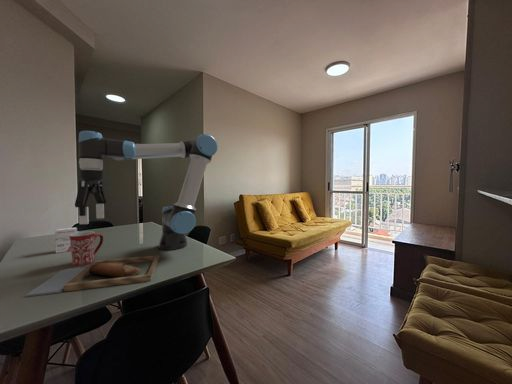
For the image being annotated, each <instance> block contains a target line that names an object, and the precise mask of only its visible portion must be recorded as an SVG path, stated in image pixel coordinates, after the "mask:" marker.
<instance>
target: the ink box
mask: <svg viewBox="0 0 512 384" xmlns="http://www.w3.org/2000/svg"><path fill="white" fill-rule="evenodd" d="M73 233H78V228H77V227H67V228H59V229H55V231H54V238H55V245H54V246H55V253H56V254H57V253H66V252H71V243H70V237H69V235H70V234H73Z"/></svg>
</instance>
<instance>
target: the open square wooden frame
mask: <svg viewBox="0 0 512 384" xmlns="http://www.w3.org/2000/svg"><path fill="white" fill-rule="evenodd" d="M159 261H160V255H159V254H157V255H148V256H145V255H144V256H136V257H135V256H134V257H124V258H114V259H102V260H94V261H93V262H91V263H89V265H88V266H85V267H84V268H85V269H84V270H83V271H81V272H80V273H79V274H78V275H76V276H75V277H74V278H73V279H71V280H70V281H69V282H68V283H67V284H65V285H64V291H63V292H64V293H65V292H70V291H71V292H72V291H79V290H87V289H94V288H95V289H96V288H104V287H105V288H106V287H111V286H112V287H113V286H120V285H128V284H136V283H143V282H151V281H152V279H153V276H154V273H155V272H156V268H157V266H158V263H159ZM141 262H142V263H143V262H151V265H150V267H149V269H148V271H147V273H146V274H136V275H135V276H129V277H120V278H116V277H111V278H104V279H96V280H95V279H94V280H85V281H83V280H84V278H86V277H87V276H88V275H89V274H90V273H89V269H90V267H91V266H92V265H94V264H99V263H124V265H127V264H134V263H141Z"/></svg>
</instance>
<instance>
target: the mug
mask: <svg viewBox="0 0 512 384" xmlns="http://www.w3.org/2000/svg"><path fill="white" fill-rule="evenodd" d="M69 237H70V243H71V251H70V252H71V262H72V266H77V267H78V266H85V265H88V264H89V265H90V264H91V263H93V262H94V261H95V257H94V256H95V255H96V254H97V252H99V251H100V248H101V247H102V245H103V243H104V236H103V235H102V234H99V233H96V232H95V231H91V230H89V231H88V230H87V231H86V230H84V231H79V232H78V231H77V233H73V234H70V235H69ZM98 237H99V243H98V244H97V247H96V248H95V240H96V238H98Z"/></svg>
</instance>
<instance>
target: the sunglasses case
mask: <svg viewBox="0 0 512 384" xmlns="http://www.w3.org/2000/svg"><path fill="white" fill-rule="evenodd" d="M141 271H142V269H141V268H139V267H136V266H134V265H128V264H124V263H99V264H94V265H92V266H91V267H90V269H89V274H90V275H91V274H92V275H101V276H102V275H103V276H105V277H111V278H120V277H129V276H137V275H139V273H140V272H141Z"/></svg>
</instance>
